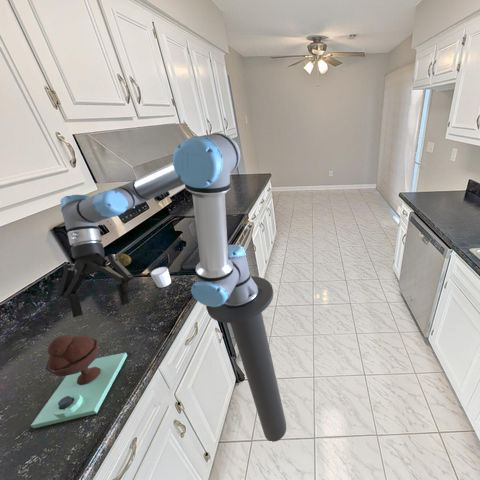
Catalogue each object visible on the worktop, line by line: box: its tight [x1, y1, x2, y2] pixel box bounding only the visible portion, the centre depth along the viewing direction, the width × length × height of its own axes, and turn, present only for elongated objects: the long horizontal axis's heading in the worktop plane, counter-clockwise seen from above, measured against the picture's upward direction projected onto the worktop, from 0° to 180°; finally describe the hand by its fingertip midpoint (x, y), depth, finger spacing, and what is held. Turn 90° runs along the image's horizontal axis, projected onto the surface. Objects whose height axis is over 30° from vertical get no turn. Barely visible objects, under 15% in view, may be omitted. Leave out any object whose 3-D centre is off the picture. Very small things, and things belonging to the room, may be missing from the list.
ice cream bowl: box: [44, 334, 101, 385], centre depth 70 cm, size 11×11×15 cm
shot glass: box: [149, 266, 172, 289], centre depth 113 cm, size 7×7×7 cm
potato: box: [116, 253, 132, 267], centre depth 129 cm, size 8×13×8 cm, turn 23°
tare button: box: [58, 396, 73, 409], centre depth 65 cm, size 2×2×2 cm
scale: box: [30, 351, 128, 429], centre depth 71 cm, size 14×18×3 cm
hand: (102, 310), depth 80 cm, fingers open, 13 cm apart
